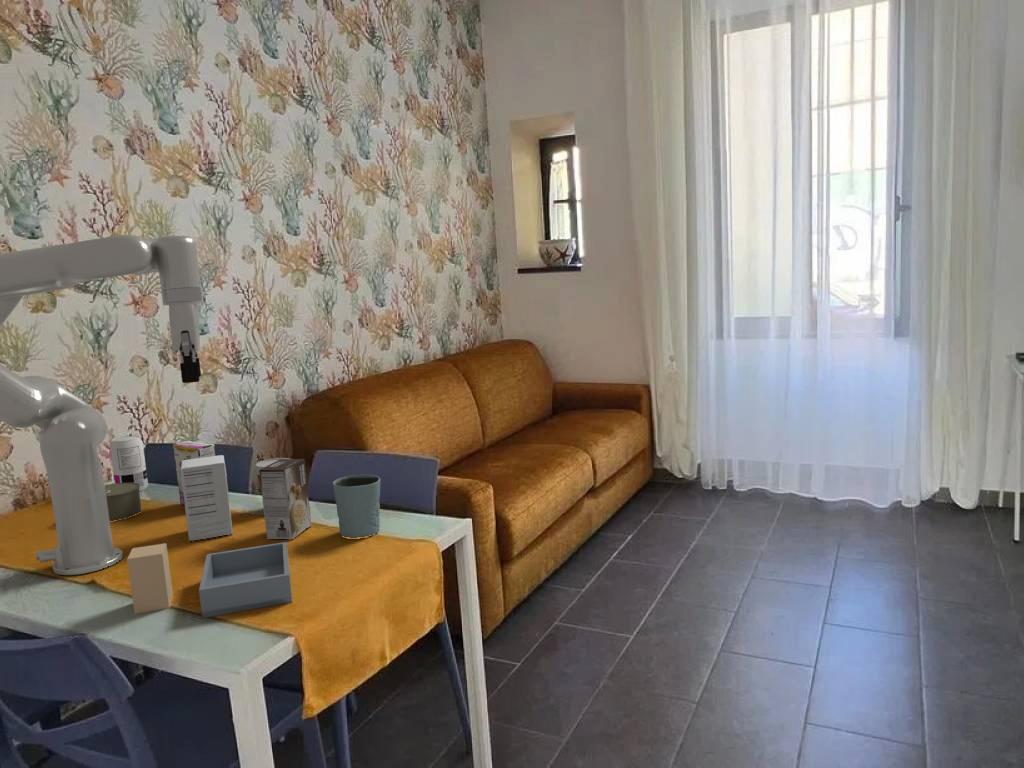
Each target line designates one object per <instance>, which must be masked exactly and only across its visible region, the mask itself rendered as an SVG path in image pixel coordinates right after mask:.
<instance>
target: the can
mask: <svg viewBox="0 0 1024 768" xmlns="http://www.w3.org/2000/svg"><path fill="white" fill-rule="evenodd" d="M104 485H105V491H106V498H107V505H108V513H109V520H110V521H114V520H119V519H124V518H128V517H130V516H133V515H135V514H137V513H139V512H141V510H142V504H141V495H140V492H139V484H137V483H117V484H115V483H111V484H104ZM141 513H142V512H141Z"/></svg>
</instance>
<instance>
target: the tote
mask: <svg viewBox="0 0 1024 768" xmlns="http://www.w3.org/2000/svg"><path fill="white" fill-rule="evenodd" d="M290 573H291V572H290V561H289V552H288V542H287V541H284V542H278V543H272V544H271V543H270V544H265V545H258V546H251V547H245V548H239V549H234V550H225V551H220V552H219V551H218V552H213V553H207V554H206V557H205V562H204V566H203V569H202V574H201V580H200V584H199V588H198V595H199V603H200V610H201V616H202V617H201V618H202V619H204V618H211V617H217V616H221V615H227V614H233V613H239V612H245V611H249V610H250V611H251V610H255V609H260V608H261V609H262V608H267V607H272V606H277V605H284V604H289V603H293V598H292V597H293V596H292V586H291V574H290Z"/></svg>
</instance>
